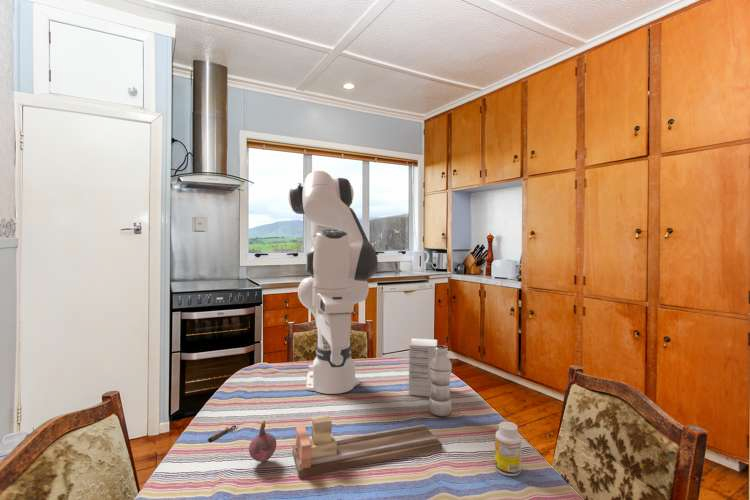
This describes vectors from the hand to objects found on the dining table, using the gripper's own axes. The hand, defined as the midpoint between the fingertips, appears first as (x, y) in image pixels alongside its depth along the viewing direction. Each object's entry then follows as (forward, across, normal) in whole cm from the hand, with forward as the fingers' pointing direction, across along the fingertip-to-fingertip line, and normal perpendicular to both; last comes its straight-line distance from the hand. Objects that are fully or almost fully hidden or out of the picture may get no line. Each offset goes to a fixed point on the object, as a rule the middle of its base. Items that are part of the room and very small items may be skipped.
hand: (330, 356), depth 91 cm
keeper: (+22, +3, -2) cm, 22 cm away
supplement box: (+24, -27, +38) cm, 53 cm away
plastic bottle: (+24, -10, +36) cm, 44 cm away
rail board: (+24, +3, +9) cm, 25 cm away
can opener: (+25, -17, -24) cm, 38 cm away
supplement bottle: (+23, +19, +37) cm, 48 cm away
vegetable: (+24, 0, -15) cm, 28 cm away
